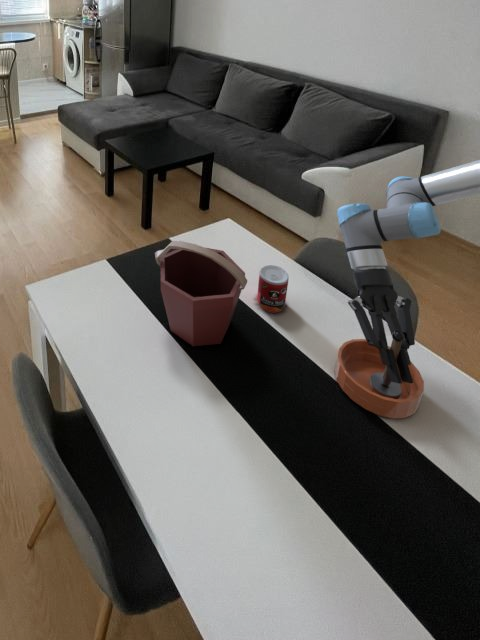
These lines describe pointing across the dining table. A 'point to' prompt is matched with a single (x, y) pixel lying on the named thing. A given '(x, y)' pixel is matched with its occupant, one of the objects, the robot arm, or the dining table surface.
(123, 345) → the dining table surface
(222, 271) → the bucket
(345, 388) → the bowl
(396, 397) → the ring stacker peg
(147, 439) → the dining table surface
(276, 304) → the canned food
